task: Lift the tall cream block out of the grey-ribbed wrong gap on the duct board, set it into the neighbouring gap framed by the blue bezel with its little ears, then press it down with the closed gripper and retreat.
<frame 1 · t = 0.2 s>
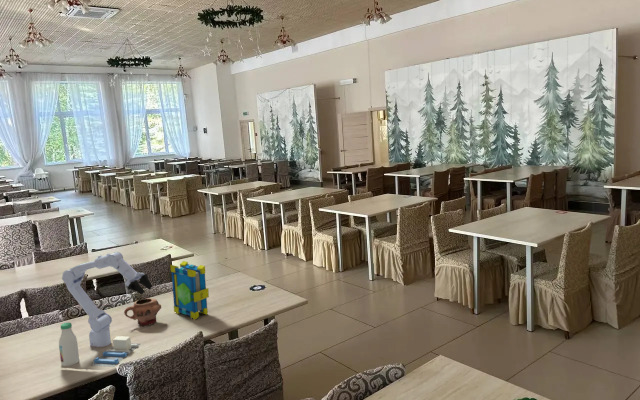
hand: (147, 290, 238), 31 cm above the table, tool tilted 45°, fingers open, 7 cm apart
milk bottle: (70, 364, 229), on the table
duct board: (117, 356, 236), on the table
tall cream block: (122, 349, 241), point 1 cm above the table, touching duct board
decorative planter: (144, 324, 274), on the table
decorative book: (190, 313, 288), on the table
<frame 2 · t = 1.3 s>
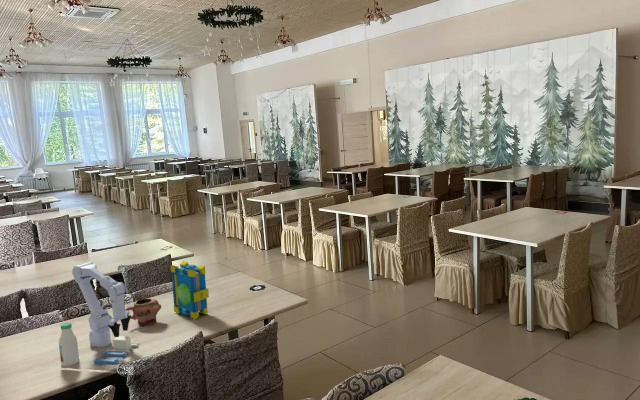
hand: (121, 333, 239), 9 cm above the table, tool pointing down, fingers open, 7 cm apart
nothing on the table moved.
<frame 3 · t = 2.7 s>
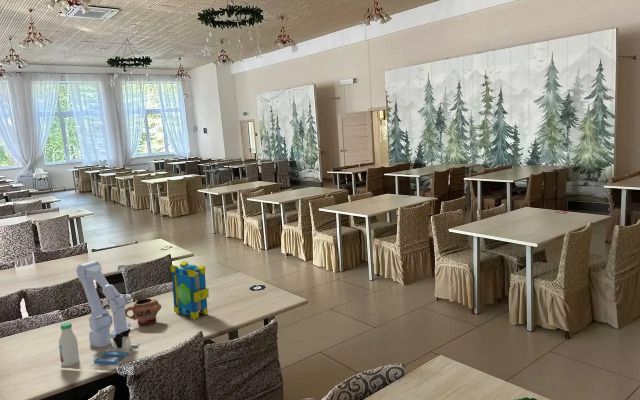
hand: (122, 345, 240), 3 cm above the table, tool pointing down, fingers closed on tall cream block, 4 cm apart
tall cream block: (122, 349, 241), point 1 cm above the table, touching duct board, gripper
everything else where it was.
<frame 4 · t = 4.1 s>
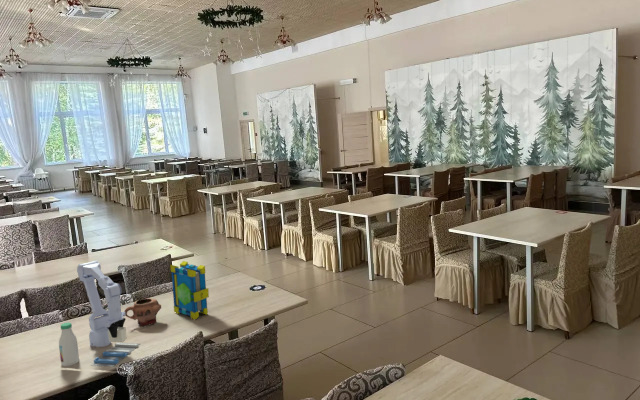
hand: (117, 335, 236), 10 cm above the table, tool pointing down, fingers closed on tall cream block, 4 cm apart
tall cream block: (117, 340, 236), point 8 cm above the table, touching gripper
everything else where it was.
when the fingers open (4 cm above the table, at t = 6.0 s): tall cream block stays where it is, resting on duct board.
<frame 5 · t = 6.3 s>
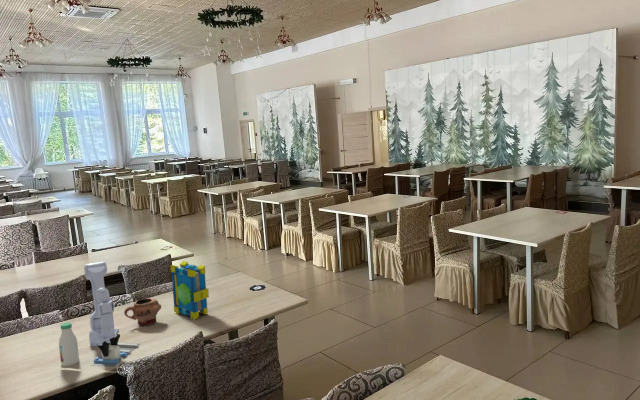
hand: (110, 353, 230), 4 cm above the table, tool pointing down, fingers open, 6 cm apart
tall cream block: (111, 358, 231), point 1 cm above the table, touching duct board
everything else where it was.
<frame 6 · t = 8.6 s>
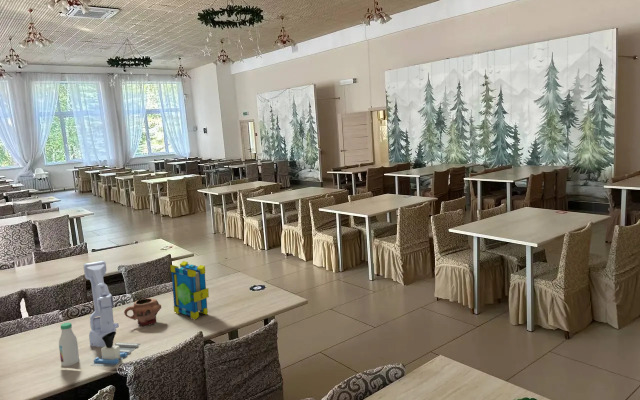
hand: (109, 347, 230), 7 cm above the table, tool pointing down, fingers closed, pressing on tall cream block
tall cream block: (111, 358, 231), point 1 cm above the table, touching duct board, gripper
everything else where it was.
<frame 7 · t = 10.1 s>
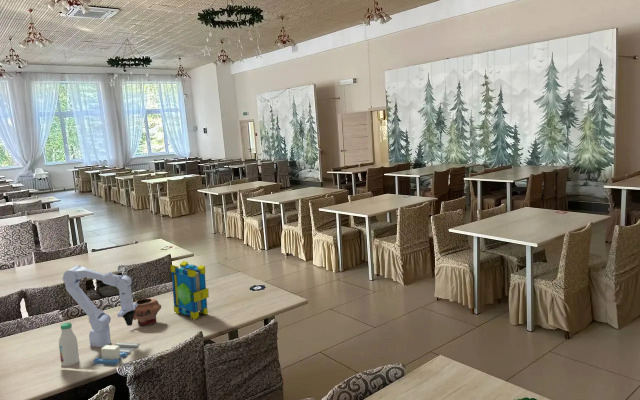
hand: (129, 325, 247), 10 cm above the table, tool pointing down, fingers closed
tall cream block: (111, 358, 231), point 1 cm above the table, touching duct board
everything else where it was.
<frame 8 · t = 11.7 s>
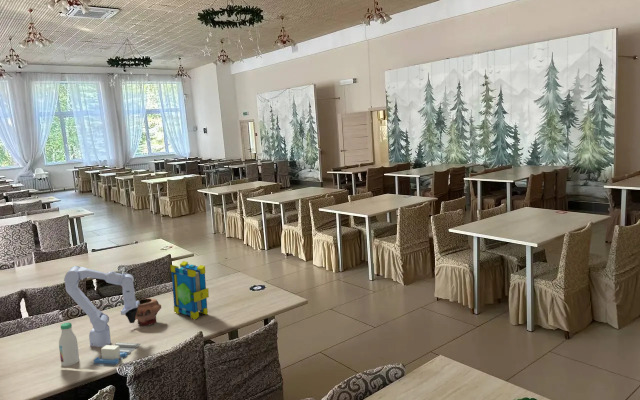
hand: (132, 322, 250), 10 cm above the table, tool pointing down, fingers closed
nothing on the table moved.
at the end: tall cream block 0.3 cm from the target spot on the duct board, point 1.0 cm above the duct board's base; tall cream block tilted 0°; the gripper is holding nothing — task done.
